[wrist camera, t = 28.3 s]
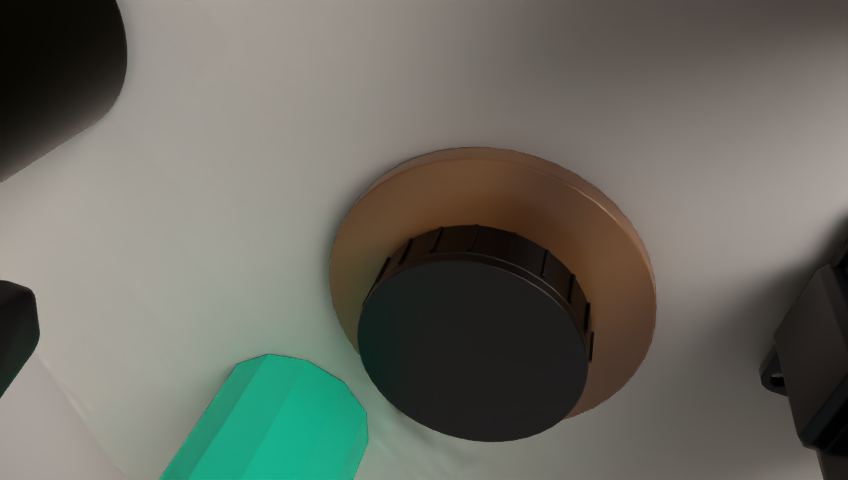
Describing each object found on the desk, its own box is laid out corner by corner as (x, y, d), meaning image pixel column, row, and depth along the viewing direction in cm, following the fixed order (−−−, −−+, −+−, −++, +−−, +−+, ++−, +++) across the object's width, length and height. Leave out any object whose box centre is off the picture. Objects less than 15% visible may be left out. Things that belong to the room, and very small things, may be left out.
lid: (581, 215, 20) (576, 253, 18) (603, 402, 23) (600, 447, 21) (350, 229, 22) (328, 264, 20) (401, 398, 25) (385, 439, 23)
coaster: (714, 210, 19) (717, 225, 19) (589, 446, 25) (587, 464, 24) (363, 101, 20) (354, 112, 20) (319, 354, 26) (310, 369, 25)
